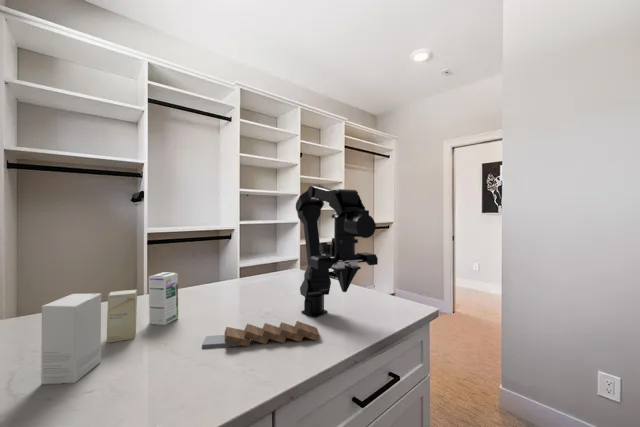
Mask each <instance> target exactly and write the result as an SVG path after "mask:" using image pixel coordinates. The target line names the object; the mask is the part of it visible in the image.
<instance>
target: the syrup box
mask: <svg viewBox="0 0 640 427" xmlns="http://www.w3.org/2000/svg"><path fill="white" fill-rule="evenodd" d="M148 309H149V310H148V321H149V324H150V325H151V324H152V325H160V326H166V325H168V324H169V323H171V322H174V321H175V320H177V319H179V274H178V273H177V272H172V271H171V272H170V271H168V272H167V271H166V272H165V271H164V272H163V271H162V272H161V273H160V272H159V273H157V274H154V275H149V276H148Z"/></svg>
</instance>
